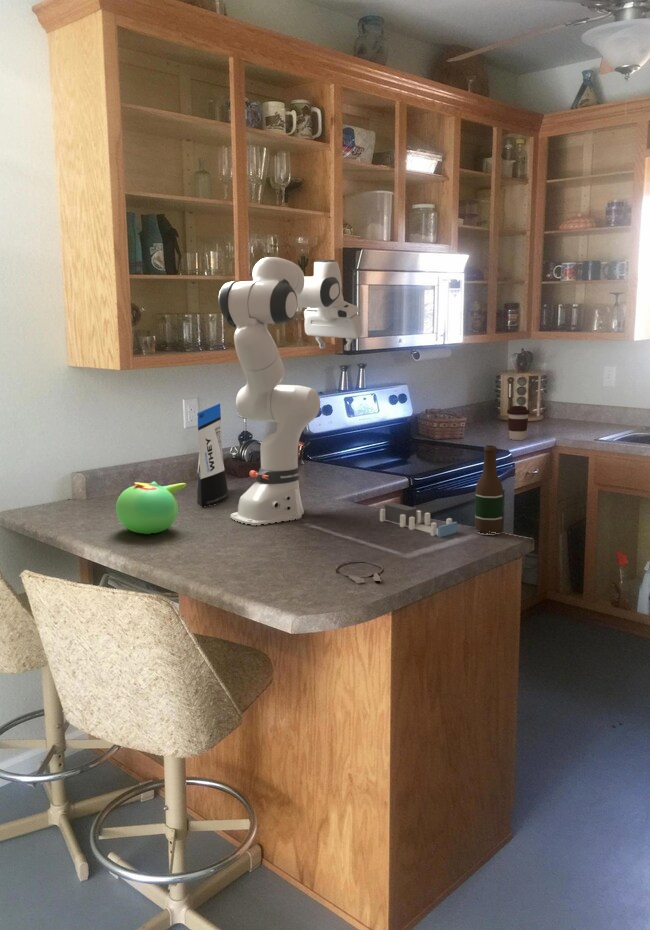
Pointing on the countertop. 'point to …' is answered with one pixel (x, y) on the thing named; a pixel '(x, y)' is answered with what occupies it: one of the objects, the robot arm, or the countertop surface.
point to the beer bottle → (489, 496)
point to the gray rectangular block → (399, 512)
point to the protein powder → (210, 459)
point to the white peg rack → (425, 524)
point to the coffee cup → (517, 422)
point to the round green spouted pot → (148, 507)
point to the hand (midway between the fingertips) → (335, 348)
